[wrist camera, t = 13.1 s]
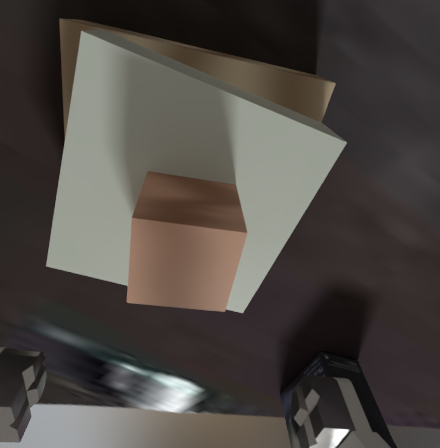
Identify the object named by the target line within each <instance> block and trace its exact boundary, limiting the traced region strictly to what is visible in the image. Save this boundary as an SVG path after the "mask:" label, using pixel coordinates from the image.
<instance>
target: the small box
mask: <svg viewBox="0 0 440 448" xmlns="http://www.w3.org/2000/svg"><path fill="white" fill-rule="evenodd" d="M304 375H313V376H328V377H336V378H346V379H349V380H350V381H351V382H352V385H353V387H354V389H355V392H356V394H357V397H358V399H359V401H360V404H361V406H362V408H363V411H364V413H365V416H366V418H367V420H368V423H369V425H370V428H371V430H372V432H377V433H378V434H379V436H380V437H381V438H382V439H383V440H384V441H385V442H386V443H387V444H388V445H389V446H390V447H391V448H397V447H396V445H395V443H394V441H393V439H392V437H391V435H390V432H389V430H388V428H387V426H386V423H385V421H384V419H383V417H382V414H381V412H380V410H379V408H378V405H377V403H376V401H375V399H374V397H373V394H372V392H371V390H370V388H369V385H368V384H367V381H366V379H365V377H364V374H363V372H362V369H361V367H360V364H359V362H358V361H356V360H351V359H348V358H344V357H340V356H336V355H333V354H329V353H325V352H320V353H318V355H317V356H316V357H315V358H314V359H313V360H312V361H311V362H310V363H309V364H308V365H307V366H306V367H305V368H304V369H303V370H302V371H301V373H300V374H299V375H298V376H297V377H296V378H295V379H294V380H293V381H292V382H291V383H290V384H289V385H288V386H287V387H286V388H285V389H284V390H283V391H282V393H280V396H281V401H282V406H283V410H284V415H285V420H286V425H287V430H288V434H289V439H290V444H291V448H300V444H299V440H298V435H297V432H298V430H299V427H300V426H299V424H298V423H297V422H296V421H295V419H294V417H293V413H292V404H291V402H292V394H293V392H294V390H295V388H297V387H299V386H301V383H300V380H301V378H302V376H304Z"/></svg>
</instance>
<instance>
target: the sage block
mask: <svg viewBox="0 0 440 448" xmlns="http://www.w3.org/2000/svg"><path fill="white" fill-rule="evenodd" d="M346 143H347V142H346V141H344V140H343V139H342V138H341V137H339V136H338V135H337V134H335V133H334V132H333V131H332V130H330V129H329V128H328V127H327V126H325V125H324V124H323V123H321V122H318V121H316V120H314V119H311V118H309V117H307V116H304V115H302V114H300V113H297V112H295V111H293V110H290V109H288V108H286V107H283V106H281V105H279V104H276V103H274V102H272V101H269V100H267V99H265V98H262V97H260V96H258V95H255V94H253V93H251V92H248V91H246V90H244V89H241V88H239V87H237V86H234V85H232V84H230V83H227V82H225V81H223V80H220V79H218V78H216V77H213V76H211V75H209V74H206V73H204V72H202V71H199V70H197V69H195V68H192V67H190V66H188V65H185V64H183V63H181V62H178V61H176V60H174V59H171V58H169V57H167V56H164V55H162V54H160V53H157V52H155V51H153V50H150V49H148V48H146V47H143V46H141V45H139V44H136V43H134V42H132V41H129V40H127V39H125V38H122V37H120V36H118V35H115V34H113V33H111V32H108V31H106V30H88V31H81V36H80V43H79V50H78V56H77V63H76V70H75V76H74V83H73V90H72V97H71V103H70V110H69V117H68V123H67V130H66V137H65V143H64V150H63V157H62V164H61V170H60V177H59V184H58V190H57V197H56V204H55V211H54V217H53V224H52V231H51V237H50V244H49V251H48V257H47V264H46V266H48V267H52V268H56V269H60V270H64V271H69V272H73V273H77V274H81V275H85V276H89V277H94V278H98V279H102V280H106V281H110V282H115V283H119V284H123V285H127V286H128V275H129V257H130V240H131V223H132V216H133V213H134V210H135V207H136V204H137V201H138V198H139V195H140V192H141V190H142V187H143V184H144V181H145V178H146V175H147V172H148V171H151V172H157V173H164V174H170V175H176V176H183V177H189V178H196V179H202V180H209V181H215V182H221V183H228V184H234V185H236V187H237V191H238V195H239V199H240V203H241V208H242V212H243V216H244V220H245V224H246V229H247V237H246V240H245V244H244V247H243V251H242V254H241V258H240V261H239V265H238V268H237V272H236V275H235V279H234V282H233V285H232V289H231V292H230V296H229V299H228V303H227V306H226V309H227V310H232V311H236V312H240V313H243V312H244V310H245V309H246V307H247V305H248V304H249V302H250V301H251V299H252V297H253V296H254V294H255V292H256V291H257V289H258V287H259V286H260V284H261V283H262V281H263V279H264V278H265V276H266V274H267V273H268V271H269V269H270V268H271V266H272V265H273V263H274V261H275V260H276V258H277V256H278V255H279V253H280V251H281V250H282V248H283V247H284V245H285V243H286V242H287V240H288V238H289V237H290V235H291V233H292V232H293V230H294V229H295V227H296V225H297V224H298V222H299V220H300V219H301V217H302V215H303V214H304V212H305V211H306V209H307V207H308V206H309V204H310V202H311V201H312V199H313V197H314V196H315V194H316V192H317V191H318V189H319V188H320V186H321V184H322V183H323V181H324V179H325V178H326V176H327V174H328V173H329V171H330V170H331V168H332V166H333V165H334V163H335V161H336V160H337V158H338V156H339V155H340V153H341V152H342V150H343V148H344V147H345V145H346Z"/></svg>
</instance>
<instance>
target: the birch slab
mask: <svg viewBox="0 0 440 448" xmlns="http://www.w3.org/2000/svg"><path fill="white" fill-rule="evenodd" d="M59 22H60V44H61V66H62V88H63V110H64V132H65V137H66V130H67V123H68V117H69V110H70V103H71V97H72V90H73V83H74V76H75V70H76V63H77V56H78V50H79V43H80V36H81V31H88V30H106V31H108V32H111V33H113V34H115V35H118V36H120V37H122V38H125V39H127V40H129V41H132V42H134V43H136V44H139V45H141V46H143V47H146V48H148V49H150V50H153V51H155V52H157V53H160V54H162V55H164V56H167V57H169V58H171V59H174V60H176V61H178V62H181V63H183V64H185V65H188V66H190V67H192V68H195V69H197V70H199V71H202V72H204V73H206V74H209V75H211V76H213V77H216V78H218V79H220V80H223V81H225V82H227V83H230V84H232V85H234V86H237V87H239V88H241V89H244V90H246V91H248V92H251V93H253V94H255V95H258V96H260V97H262V98H265V99H267V100H269V101H272V102H274V103H276V104H279V105H281V106H283V107H286V108H288V109H290V110H293V111H295V112H297V113H300V114H302V115H304V116H307V117H309V118H311V119H314V120H316V121H318V122H322V119H323V116H324V114H325V111H326V108H327V105H328V103H329V100H330V97H331V95H332V92H333V89H334V87H335V84H336V83H333V82H331V81H329V80H326V79H324V78H322V77H319V76H317V75H314V74H309V73H305V72H301V71H297V70H292V69H288V68H284V67H280V66H276V65H271V64H267V63H263V62H259V61H254V60H250V59H246V58H242V57H238V56H233V55H229V54H225V53H221V52H216V51H212V50H208V49H204V48H200V47H195V46H191V45H187V44H183V43H178V42H174V41H170V40H166V39H162V38H157V37H153V36H149V35H145V34H140V33H136V32H132V31H128V30H124V29H119V28H115V27H111V26H107V25H102V24H98V23H94V22H90V21H86V20H78V19H59Z"/></svg>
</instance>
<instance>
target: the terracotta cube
mask: <svg viewBox="0 0 440 448" xmlns="http://www.w3.org/2000/svg"><path fill="white" fill-rule="evenodd" d="M246 237H247V229H246V224H245V220H244V216H243V212H242V208H241V203H240V199H239V195H238V191H237V187H236V185H234V184H228V183H221V182H215V181H209V180H202V179H196V178H189V177H183V176H176V175H170V174H164V173H157V172H151V171H148V172H147V175H146V178H145V181H144V184H143V187H142V190H141V192H140V195H139V198H138V201H137V204H136V207H135V210H134V213H133V216H132V223H131V240H130V257H129V275H128V292H127V303H135V304H146V305H157V306H168V307H179V308H189V309H200V310H211V311H222V312H225V310H226V306H227V303H228V299H229V296H230V292H231V289H232V285H233V282H234V279H235V275H236V272H237V268H238V265H239V261H240V258H241V254H242V251H243V247H244V244H245V240H246Z"/></svg>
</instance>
